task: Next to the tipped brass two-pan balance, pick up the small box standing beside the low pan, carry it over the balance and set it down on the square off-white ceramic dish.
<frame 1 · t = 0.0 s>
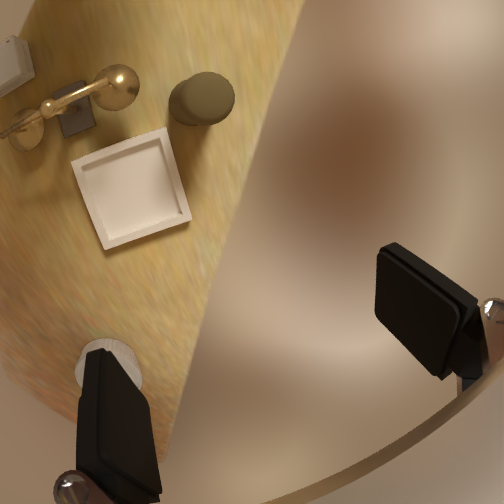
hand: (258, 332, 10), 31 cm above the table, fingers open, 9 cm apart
balance: (75, 108, 29), on the table
dish: (132, 187, 36), on the table
small box: (14, 69, 24), on the table
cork: (193, 101, 34), on the table
ramekin: (109, 356, 46), on the table
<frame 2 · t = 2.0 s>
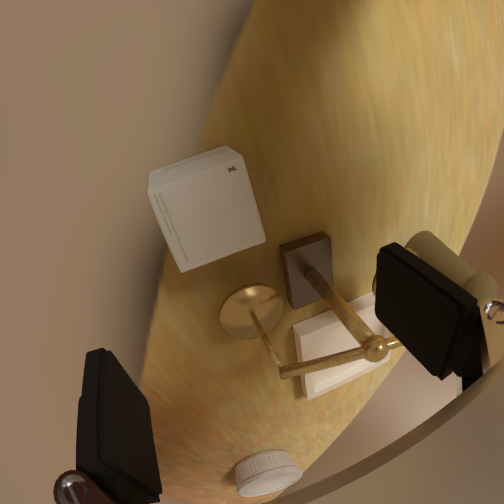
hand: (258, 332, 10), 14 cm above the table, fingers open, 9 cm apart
balance: (305, 268, 27), on the table
dish: (345, 341, 33), on the table
small box: (198, 193, 21), on the table
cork: (416, 254, 31), on the table
ramekin: (260, 460, 44), on the table
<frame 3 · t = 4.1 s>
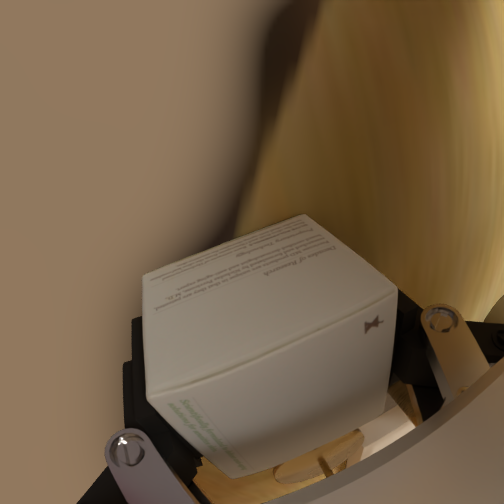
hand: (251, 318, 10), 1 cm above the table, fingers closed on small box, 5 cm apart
balance: (385, 373, 16), on the table
dish: (402, 425, 23), on the table
small box: (244, 304, 11), on the table, touching gripper
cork: (492, 320, 21), on the table
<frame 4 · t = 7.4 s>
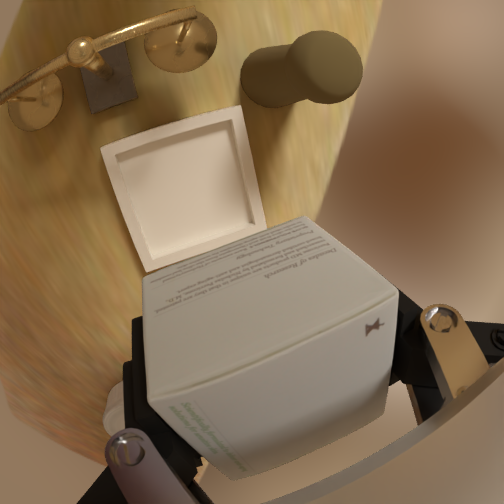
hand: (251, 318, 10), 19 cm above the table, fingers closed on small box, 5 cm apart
balance: (107, 74, 20), on the table
dish: (186, 186, 27), on the table
small box: (244, 306, 11), point 19 cm above the table, touching gripper
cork: (271, 77, 25), on the table
ramekin: (142, 395, 37), on the table
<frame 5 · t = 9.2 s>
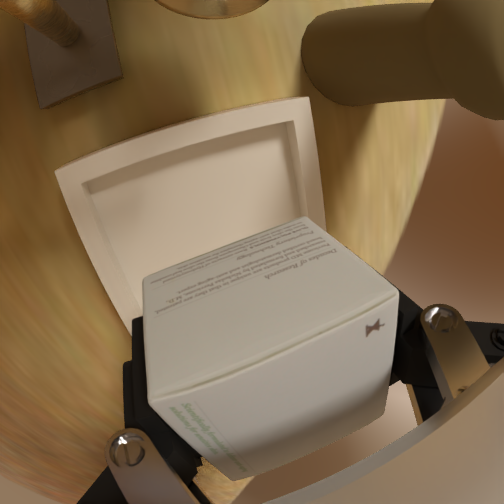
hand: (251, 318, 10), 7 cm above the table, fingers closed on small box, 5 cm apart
balance: (73, 39, 10), on the table
dish: (208, 231, 17), on the table
small box: (244, 306, 11), point 7 cm above the table, touching gripper
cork: (346, 57, 15), on the table
when the fingers open (3 cm above the table, at t = 10.9 s): small box drops 1 cm, resting on dish.
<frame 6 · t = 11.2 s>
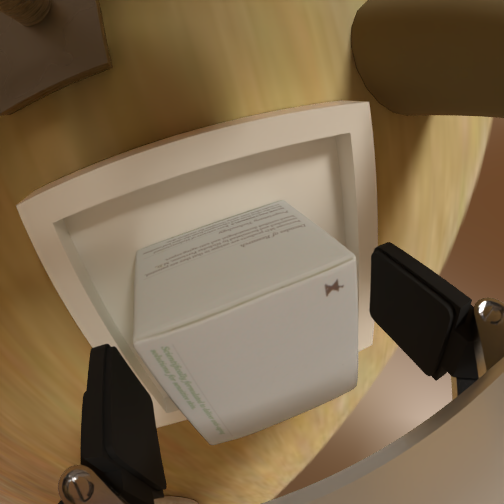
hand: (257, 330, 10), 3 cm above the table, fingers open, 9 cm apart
balance: (45, 18, 6), on the table
dish: (230, 276, 13), on the table
small box: (228, 282, 12), point 1 cm above the table, touching dish
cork: (400, 54, 11), on the table
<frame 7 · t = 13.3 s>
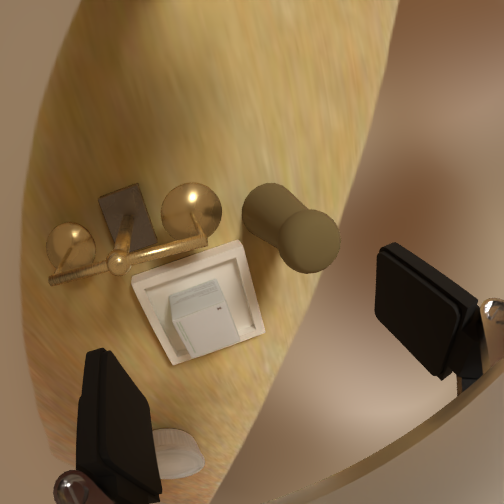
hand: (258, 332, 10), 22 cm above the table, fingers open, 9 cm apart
balance: (128, 218, 29), on the table
dish: (201, 303, 35), on the table
small box: (200, 305, 34), point 1 cm above the table, touching dish
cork: (268, 210, 33), on the table
ramekin: (166, 440, 43), on the table
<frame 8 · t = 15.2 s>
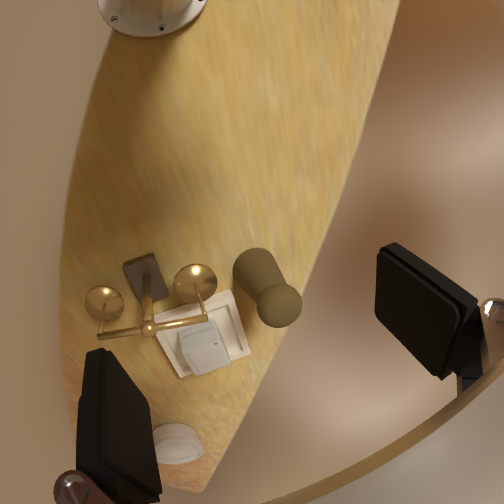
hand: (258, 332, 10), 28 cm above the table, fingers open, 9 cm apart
balance: (146, 277, 38), on the table
dish: (202, 333, 45), on the table
small box: (201, 335, 44), point 1 cm above the table, touching dish
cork: (253, 267, 43), on the table
ramekin: (172, 432, 55), on the table
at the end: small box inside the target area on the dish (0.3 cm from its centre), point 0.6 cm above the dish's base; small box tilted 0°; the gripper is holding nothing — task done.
